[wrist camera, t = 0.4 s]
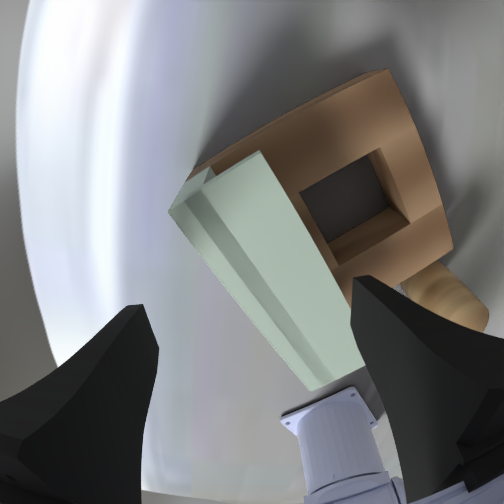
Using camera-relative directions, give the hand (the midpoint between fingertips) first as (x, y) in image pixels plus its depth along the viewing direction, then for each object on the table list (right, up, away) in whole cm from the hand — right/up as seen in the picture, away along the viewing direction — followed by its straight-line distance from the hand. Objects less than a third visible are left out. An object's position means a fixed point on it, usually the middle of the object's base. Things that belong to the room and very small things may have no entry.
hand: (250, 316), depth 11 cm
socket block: (+6, +6, +9) cm, 12 cm away
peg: (+13, +1, +12) cm, 17 cm away
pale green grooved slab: (+1, +3, +10) cm, 10 cm away
